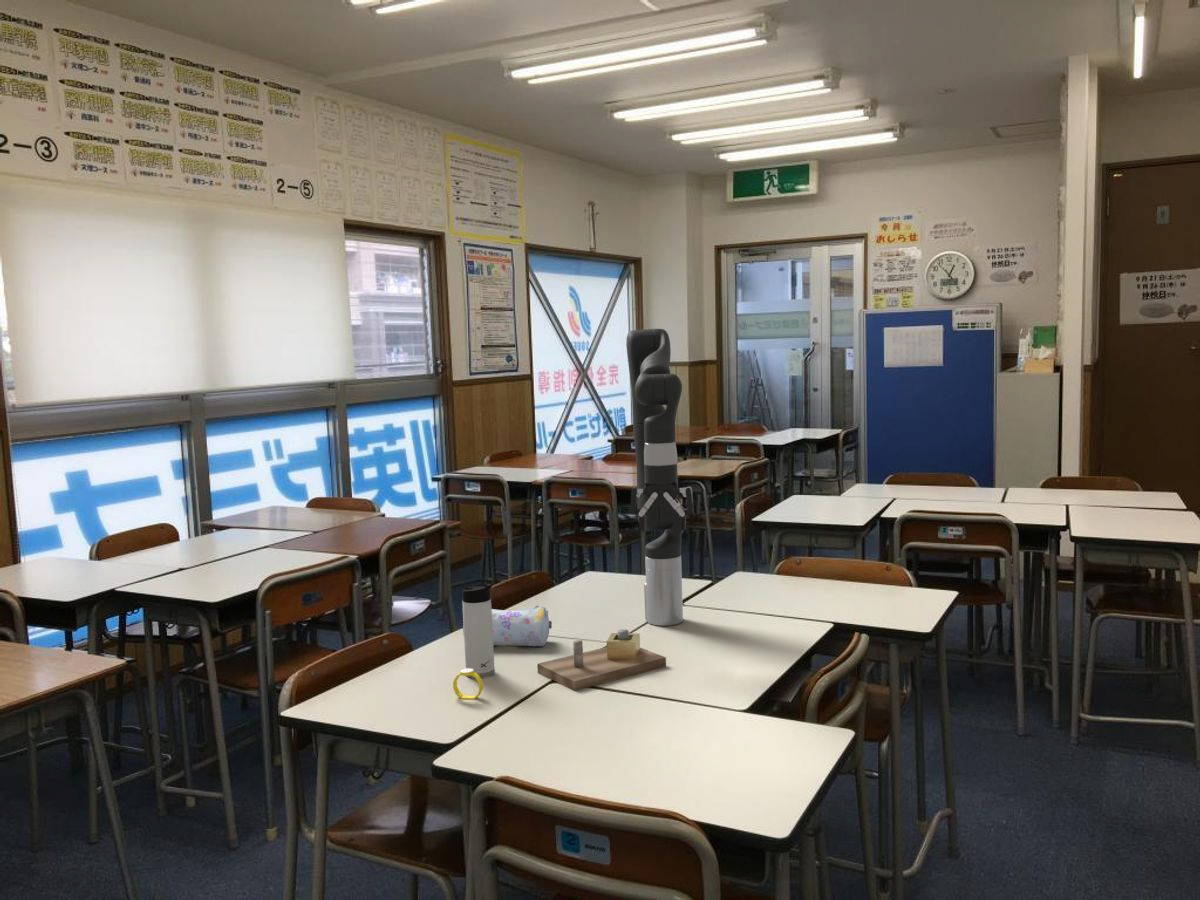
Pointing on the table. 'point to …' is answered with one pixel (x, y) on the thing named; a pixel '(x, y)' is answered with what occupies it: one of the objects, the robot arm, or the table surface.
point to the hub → (623, 634)
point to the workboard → (596, 667)
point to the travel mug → (478, 629)
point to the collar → (623, 647)
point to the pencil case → (520, 627)
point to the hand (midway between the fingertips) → (662, 532)
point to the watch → (465, 673)
